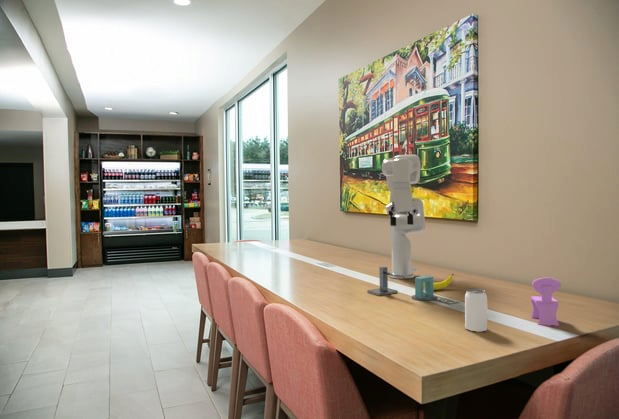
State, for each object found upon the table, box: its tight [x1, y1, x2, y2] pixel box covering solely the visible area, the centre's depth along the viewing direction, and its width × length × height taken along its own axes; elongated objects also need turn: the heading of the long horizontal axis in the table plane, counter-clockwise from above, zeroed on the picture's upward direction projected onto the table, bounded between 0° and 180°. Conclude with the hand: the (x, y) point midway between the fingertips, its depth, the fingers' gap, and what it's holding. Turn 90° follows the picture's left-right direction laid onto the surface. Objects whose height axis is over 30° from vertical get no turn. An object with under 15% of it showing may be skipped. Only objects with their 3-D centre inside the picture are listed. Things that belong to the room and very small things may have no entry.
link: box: [414, 275, 435, 299], centre depth 179 cm, size 7×3×8 cm, turn 119°
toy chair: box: [530, 276, 561, 327], centre depth 144 cm, size 8×9×15 cm
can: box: [464, 288, 488, 333], centre depth 138 cm, size 6×6×12 cm
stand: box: [366, 265, 405, 297], centre depth 186 cm, size 10×18×11 cm, turn 28°
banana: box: [423, 273, 455, 291], centre depth 193 cm, size 3×19×6 cm, turn 111°
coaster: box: [411, 294, 438, 302], centre depth 179 cm, size 10×10×1 cm
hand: (401, 225), depth 197 cm, fingers open, 9 cm apart
